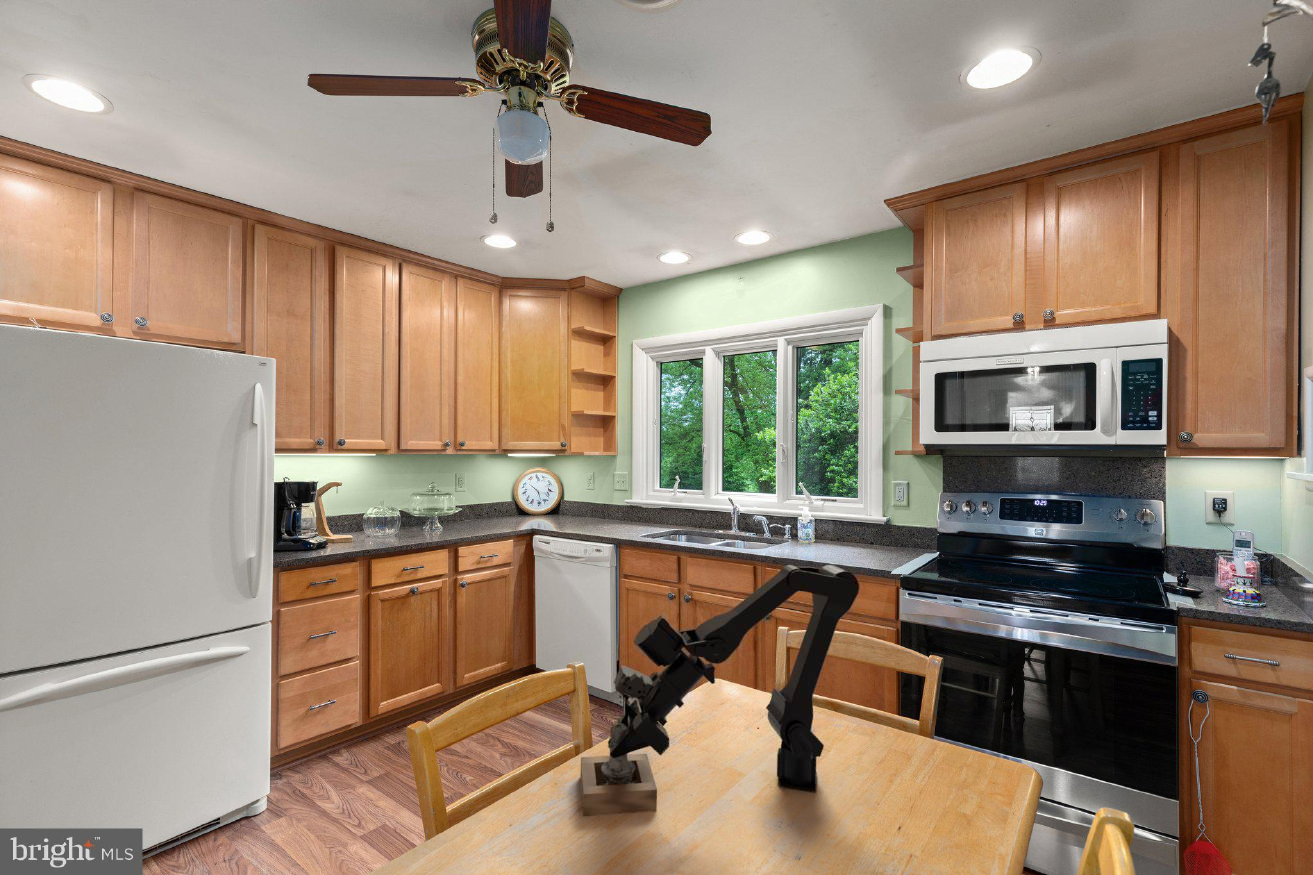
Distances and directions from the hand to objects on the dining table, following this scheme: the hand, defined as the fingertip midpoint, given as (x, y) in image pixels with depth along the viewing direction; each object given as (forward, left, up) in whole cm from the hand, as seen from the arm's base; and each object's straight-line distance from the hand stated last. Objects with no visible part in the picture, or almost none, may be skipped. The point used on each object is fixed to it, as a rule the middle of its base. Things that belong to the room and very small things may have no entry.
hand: (610, 750), depth 108 cm
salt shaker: (-1, -1, -7) cm, 7 cm away
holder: (-1, 0, -7) cm, 7 cm away
